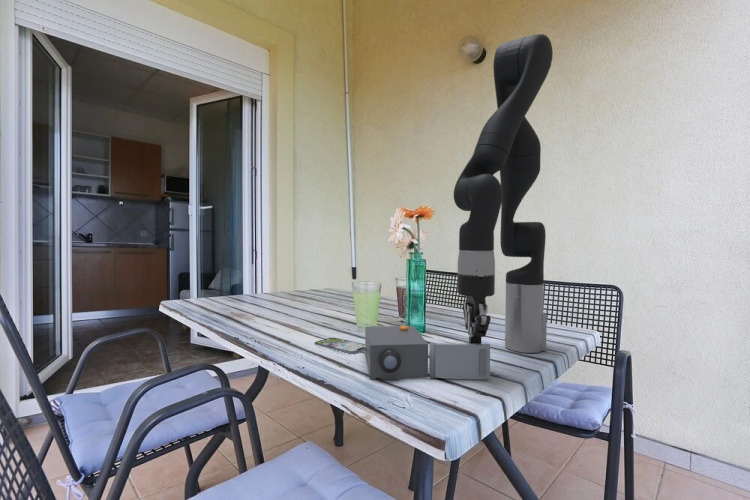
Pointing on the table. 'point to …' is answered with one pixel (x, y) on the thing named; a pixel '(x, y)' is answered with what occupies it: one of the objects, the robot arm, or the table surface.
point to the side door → (459, 360)
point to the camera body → (395, 352)
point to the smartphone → (342, 345)
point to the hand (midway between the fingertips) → (475, 353)
